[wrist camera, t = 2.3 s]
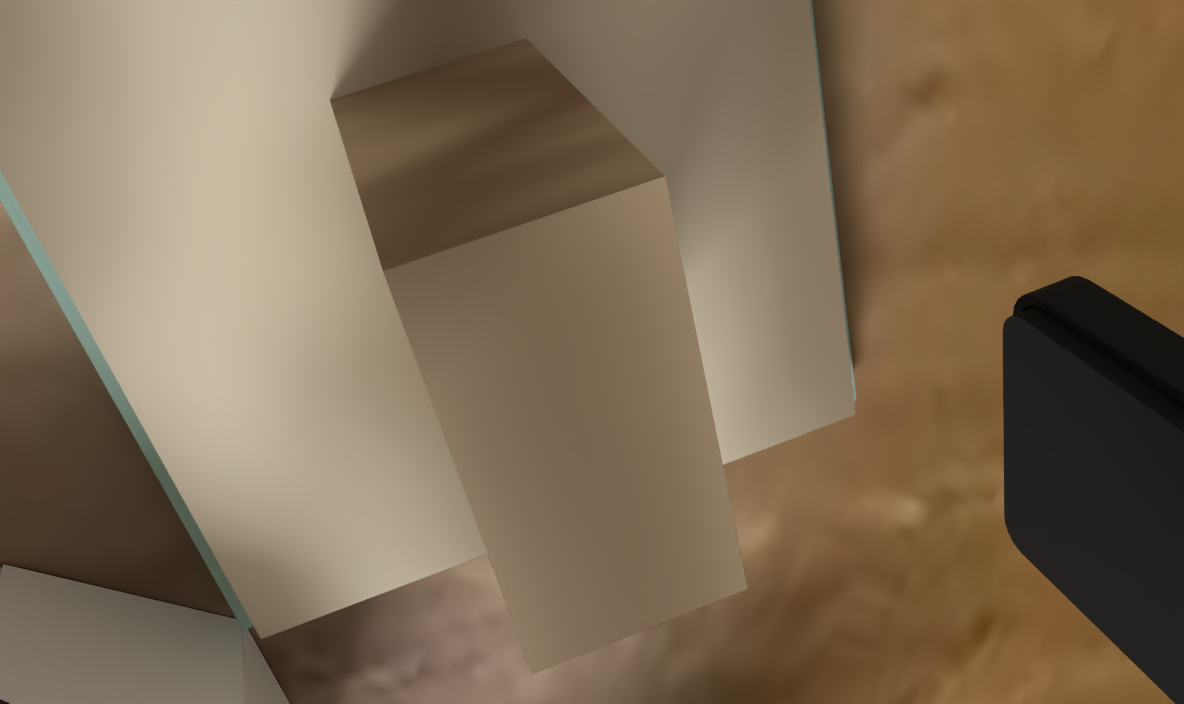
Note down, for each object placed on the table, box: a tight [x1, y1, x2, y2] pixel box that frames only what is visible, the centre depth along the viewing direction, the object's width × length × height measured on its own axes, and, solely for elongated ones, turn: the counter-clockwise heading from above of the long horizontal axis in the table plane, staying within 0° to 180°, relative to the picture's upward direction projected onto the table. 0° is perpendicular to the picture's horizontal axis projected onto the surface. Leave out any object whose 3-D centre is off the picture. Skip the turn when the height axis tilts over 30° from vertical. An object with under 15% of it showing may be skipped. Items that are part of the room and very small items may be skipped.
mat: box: [0, 0, 856, 630], centre depth 19 cm, size 13×13×1 cm
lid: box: [0, 0, 856, 674], centre depth 16 cm, size 12×12×7 cm
